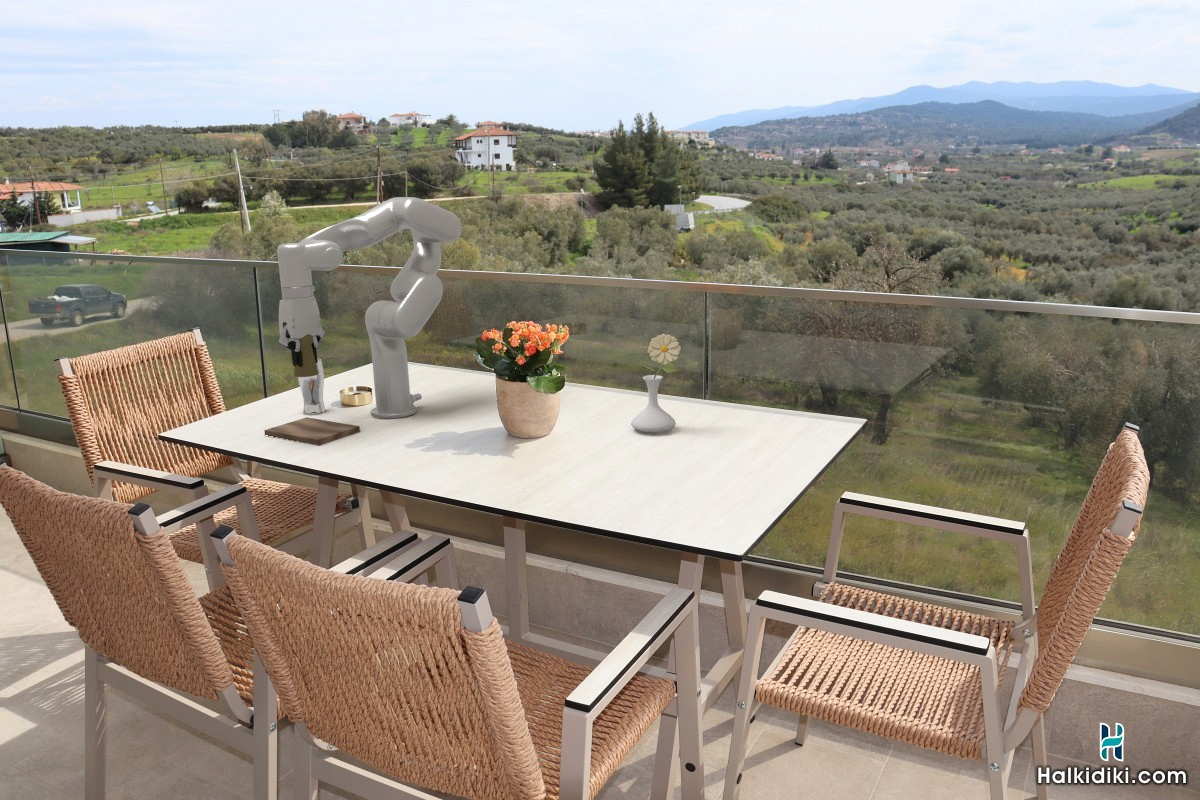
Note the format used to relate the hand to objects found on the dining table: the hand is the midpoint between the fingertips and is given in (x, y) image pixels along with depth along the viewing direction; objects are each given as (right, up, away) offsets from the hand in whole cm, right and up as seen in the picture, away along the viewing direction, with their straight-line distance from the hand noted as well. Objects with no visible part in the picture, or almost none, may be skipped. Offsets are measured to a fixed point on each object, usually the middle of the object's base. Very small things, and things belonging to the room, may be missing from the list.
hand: (305, 363), depth 233 cm
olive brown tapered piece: (0, -3, +1) cm, 3 cm away
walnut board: (0, -18, +5) cm, 19 cm away
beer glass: (-6, -13, +26) cm, 30 cm away
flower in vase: (+90, -17, -1) cm, 91 cm away
